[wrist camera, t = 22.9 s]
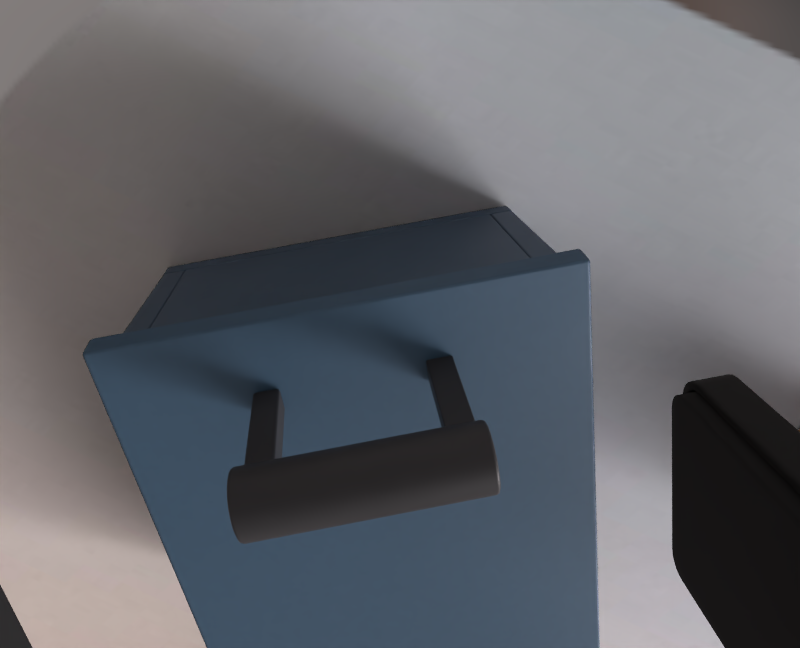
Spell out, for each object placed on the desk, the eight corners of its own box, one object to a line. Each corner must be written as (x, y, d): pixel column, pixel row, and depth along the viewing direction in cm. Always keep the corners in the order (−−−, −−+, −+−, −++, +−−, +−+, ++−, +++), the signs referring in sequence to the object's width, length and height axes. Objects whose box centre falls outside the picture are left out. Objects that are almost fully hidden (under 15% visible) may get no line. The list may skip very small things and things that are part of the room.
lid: (89, 337, 18) (9, 478, 13) (580, 247, 18) (675, 352, 13) (244, 712, 25) (229, 890, 20) (592, 642, 26) (657, 801, 21)
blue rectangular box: (167, 266, 26) (116, 339, 20) (506, 204, 26) (562, 257, 20) (261, 578, 32) (245, 712, 25) (540, 523, 32) (592, 642, 26)
